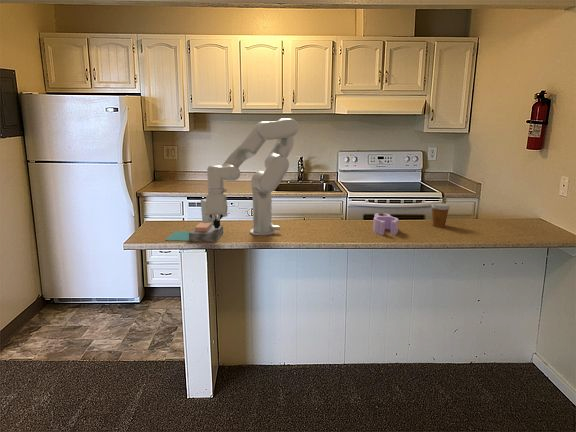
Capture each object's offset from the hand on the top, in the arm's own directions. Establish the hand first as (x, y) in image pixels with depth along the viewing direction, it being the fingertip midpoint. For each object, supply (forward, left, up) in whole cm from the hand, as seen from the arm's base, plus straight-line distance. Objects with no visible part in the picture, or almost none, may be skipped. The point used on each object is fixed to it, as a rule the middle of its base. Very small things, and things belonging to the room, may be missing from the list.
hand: (216, 227), depth 221 cm
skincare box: (+9, -20, -5) cm, 22 cm away
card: (+7, 0, -1) cm, 7 cm away
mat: (+18, 0, -5) cm, 19 cm away
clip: (-84, -21, -5) cm, 87 cm away
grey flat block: (+5, 0, -5) cm, 7 cm away
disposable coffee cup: (-115, -32, -5) cm, 120 cm away
